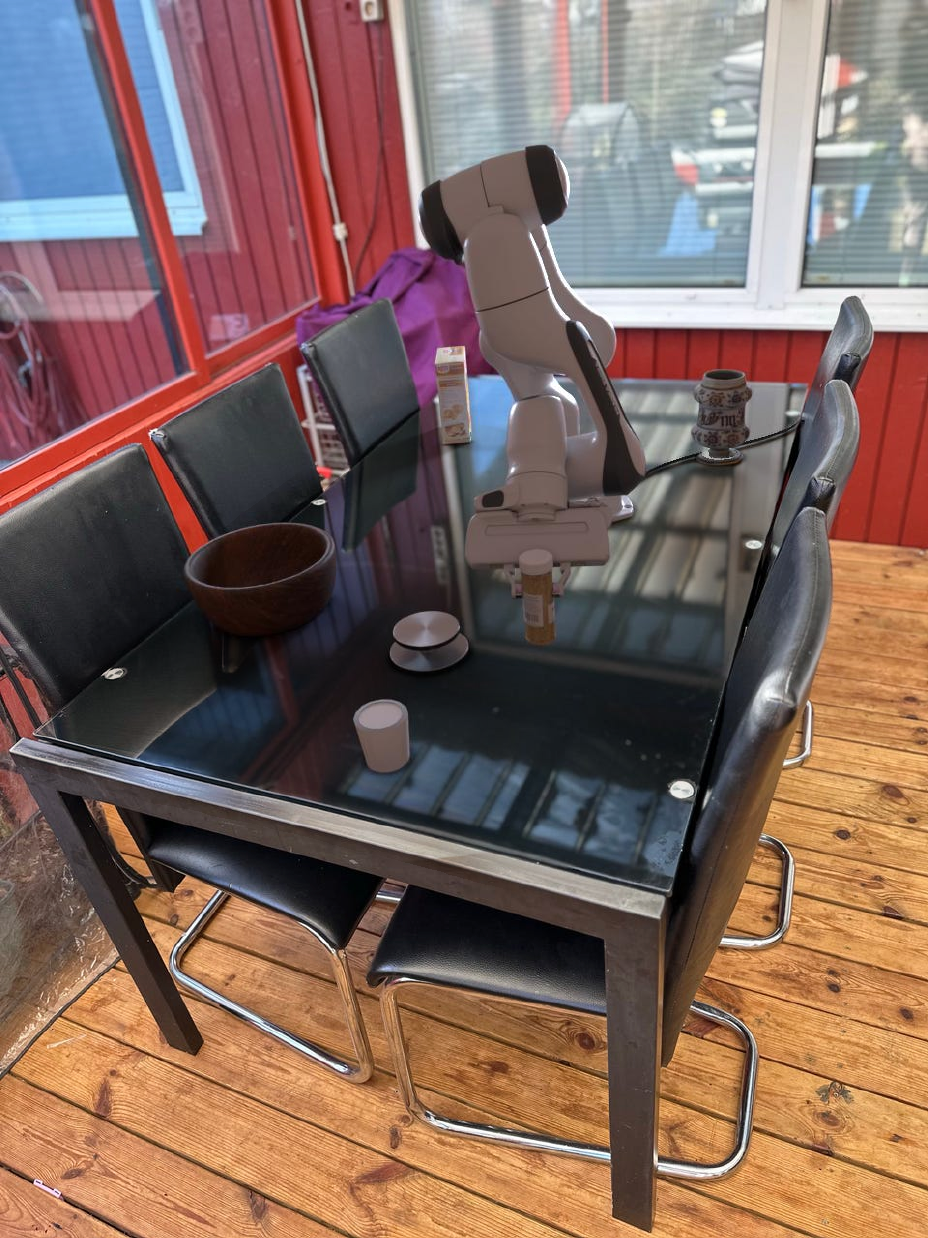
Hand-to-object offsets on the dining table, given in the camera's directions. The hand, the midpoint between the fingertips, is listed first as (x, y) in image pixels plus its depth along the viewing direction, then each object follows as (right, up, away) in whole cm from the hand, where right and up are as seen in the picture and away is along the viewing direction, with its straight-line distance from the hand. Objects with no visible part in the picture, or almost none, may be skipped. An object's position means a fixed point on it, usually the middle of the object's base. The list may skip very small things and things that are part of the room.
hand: (537, 597), depth 123 cm
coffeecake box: (-12, +43, +97) cm, 107 cm away
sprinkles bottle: (+1, -6, +4) cm, 7 cm away
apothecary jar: (+45, +32, +68) cm, 88 cm away
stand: (-15, -8, +12) cm, 21 cm away
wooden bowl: (-43, -1, +29) cm, 52 cm away
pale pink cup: (-20, -21, -8) cm, 30 cm away
